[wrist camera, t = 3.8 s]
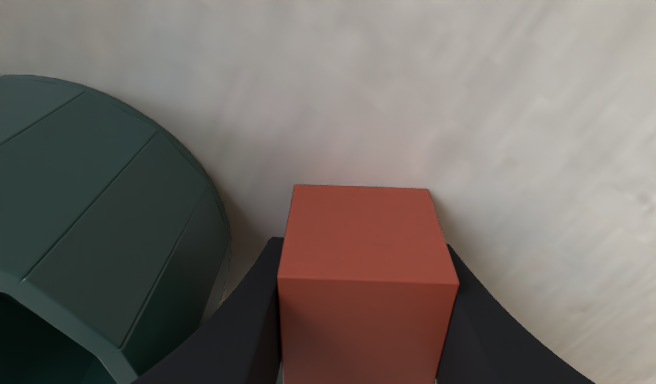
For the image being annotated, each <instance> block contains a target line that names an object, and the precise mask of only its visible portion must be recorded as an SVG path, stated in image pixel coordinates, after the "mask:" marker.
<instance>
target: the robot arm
mask: <svg viewBox="0 0 656 384" xmlns="http://www.w3.org/2000/svg"><path fill="white" fill-rule="evenodd" d="M283 243H284V237H272V238H270V239H269V240H268V242H267V244H266V246H265V247H264V249H263V251H262V252H261V254H260V255H259V257H258V259H257V260H256V261H255V263H254V264H253V266H252V267H251V269H250V270H249V271H248V273H247V274H246V275H245V277H244V278H243V279H242V281H241V282H240V283H239V285H238V286H237V287H236V288H235V290H234V291H233V292H232V293H231V294H230V296H229V297H228V298H227V299H226V300H225V301H224V303H223V304H222V305H221V306H220V307H219V308H218V309H217V310H216V312H215V313H214V314H213V315H212V316H211V317H210V318H209V319H208V320H207V321H206V322H205V323H204V324H203V325H202V326H201V327H200V328H199V329H198V330H197V331H195V332H194V333H193V334H192V335H191V336H190V337H189V338H188V339H187V340H185V341H184V342H183V343H182V344H181V345H180V346H179V347H178V348H176V349H175V350H174V351H173V352H172V353H170V354H169V355H168V356H166V357H165V358H164V359H163V360H161V361H160V362H159V363H157V364H156V365H155V366H153V367H152V368H151V369H149V370H148V371H147V372H146V373H144V374H143V375H142V376H140V377H139V378H137V379H136V380H134V381H133V382H132V383H130V384H276V382H277V377H278V372H279V368H280V363H281V340H280V321H279V302H278V284H277V275H278V269H279V264H280V259H281V253H282V248H283ZM447 247H448V250H449V253H450V256H451V259H452V262H453V265H454V268H455V271H456V274H457V277H458V280H459V283H460V284H459V288H458V292H457V296H456V300H455V304H454V308H453V312H452V315H451V319H450V323H449V327H448V331H447V335H446V339H445V343H444V347H443V351H442V355H441V359H440V363H439V367H438V371H437V375H436V379H437V383H438V384H595V383H594V382H592V381H591V380H589V379H588V378H587V377H585V376H584V375H582V374H581V373H579V372H578V371H577V370H575V369H574V368H573V367H571V366H570V365H569V364H567V363H566V362H565V361H564V360H562V359H561V358H560V357H558V356H557V355H556V354H554V353H553V352H552V351H551V350H549V349H548V348H547V347H546V346H544V345H543V344H542V343H541V342H540V341H539V340H537V339H536V338H535V337H534V336H533V335H532V334H531V333H529V332H528V331H527V330H526V329H525V328H524V327H523V326H522V325H521V324H519V323H518V322H517V321H516V320H515V319H514V318H513V317H512V316H511V315H510V314H509V313H508V312H507V311H506V310H505V309H504V308H503V307H502V306H501V305H500V304H499V303H498V301H497V300H496V299H495V298H494V297H493V296H492V295H491V294H490V293H489V292H488V290H487V289H486V288H485V287H484V286H483V285H482V284H481V283H480V281H479V280H478V279H477V278H476V277H475V276H474V274H473V273H472V272H471V271H470V269H469V268H468V267H467V266H466V265H465V263H464V262H463V261H462V260H461V258H460V257H459V256H458V255H457V253H456V252H455V251H454V250H453V248H452V247H451V246H450V245H449V244H447Z"/></svg>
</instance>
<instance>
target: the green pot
mask: <svg viewBox="0 0 656 384" xmlns="http://www.w3.org/2000/svg"><path fill="white" fill-rule="evenodd" d="M230 255H231V235H230V228H229V222H228V219H227V216H226V212H225V209H224V206H223V203H222V201H221V199H220V197H219V195H218V193H217V191H216V189H215V187H214V185H213V183H212V182H211V180H210V179H209V177H208V176H207V174H206V173H205V171H204V169H203V168H202V167H201V166H200V165H199V163H198V162H197V161H196V160H195V158H194V157H193V156H192V155H191V154H190V152H189V151H188V150H187V149H186V148H185V147H184V146H183V145H181V144H180V143H179V142H178V141H177V140H176V139H175V138H174V137H173V136H172V135H171V134H170V133H168V132H167V131H166V130H165V129H163V128H162V127H161V126H160V125H158V124H157V123H156V122H154V121H153V120H152V119H150V118H149V117H147V116H145V115H144V114H142V113H141V112H139V111H137V110H136V109H134V108H133V107H131V106H129V105H127V104H125V103H123V102H121V101H119V100H117V99H115V98H113V97H111V96H109V95H107V94H105V93H102V92H99V91H97V90H94V89H91V88H89V87H86V86H83V85H80V84H76V83H72V82H68V81H64V80H60V79H56V78H49V77H41V76H33V75H1V76H0V384H130V383H132V382H133V381H134V380H136V379H137V378H139V377H140V376H142V375H143V374H144V373H146V372H147V371H148V370H149V369H151V368H152V367H153V366H155V365H156V364H157V363H159V362H160V361H161V360H163V359H164V358H165V357H166V356H168V355H169V354H170V353H172V352H173V351H174V350H175V349H176V348H178V347H179V346H180V345H181V344H182V343H183V342H184V341H185V340H187V339H188V338H189V337H190V336H191V335H192V334H193V333H194V332H195V331H197V330H198V329H199V328H200V327H201V326H202V325H203V324H204V323H205V322H206V321H207V320H208V319H209V318H210V317H211V316H212V315H213V314H214V313H215V312H216V310H217V308H218V305H219V302H220V299H221V296H222V293H223V290H224V287H225V284H226V279H227V270H228V266H229V261H230Z"/></svg>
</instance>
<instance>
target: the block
mask: <svg viewBox="0 0 656 384" xmlns="http://www.w3.org/2000/svg"><path fill="white" fill-rule="evenodd" d="M277 284H278V302H279V321H280V340H281V359H282V378H283V384H434V383H435V379H436V375H437V371H438V367H439V363H440V359H441V355H442V351H443V347H444V343H445V339H446V335H447V331H448V327H449V323H450V319H451V315H452V312H453V308H454V304H455V300H456V296H457V292H458V288H459V284H460V283H459V280H458V277H457V274H456V271H455V268H454V265H453V262H452V259H451V256H450V253H449V250H448V247H447V244H446V241H445V238H444V235H443V232H442V229H441V226H440V223H439V220H438V217H437V214H436V211H435V208H434V205H433V202H432V199H431V196H430V193H429V190H428V189H416V188H386V187H357V186H328V185H298V184H296V185H294V189H293V195H292V200H291V205H290V211H289V216H288V221H287V227H286V232H285V237H284V243H283V248H282V253H281V259H280V264H279V269H278V275H277Z"/></svg>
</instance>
